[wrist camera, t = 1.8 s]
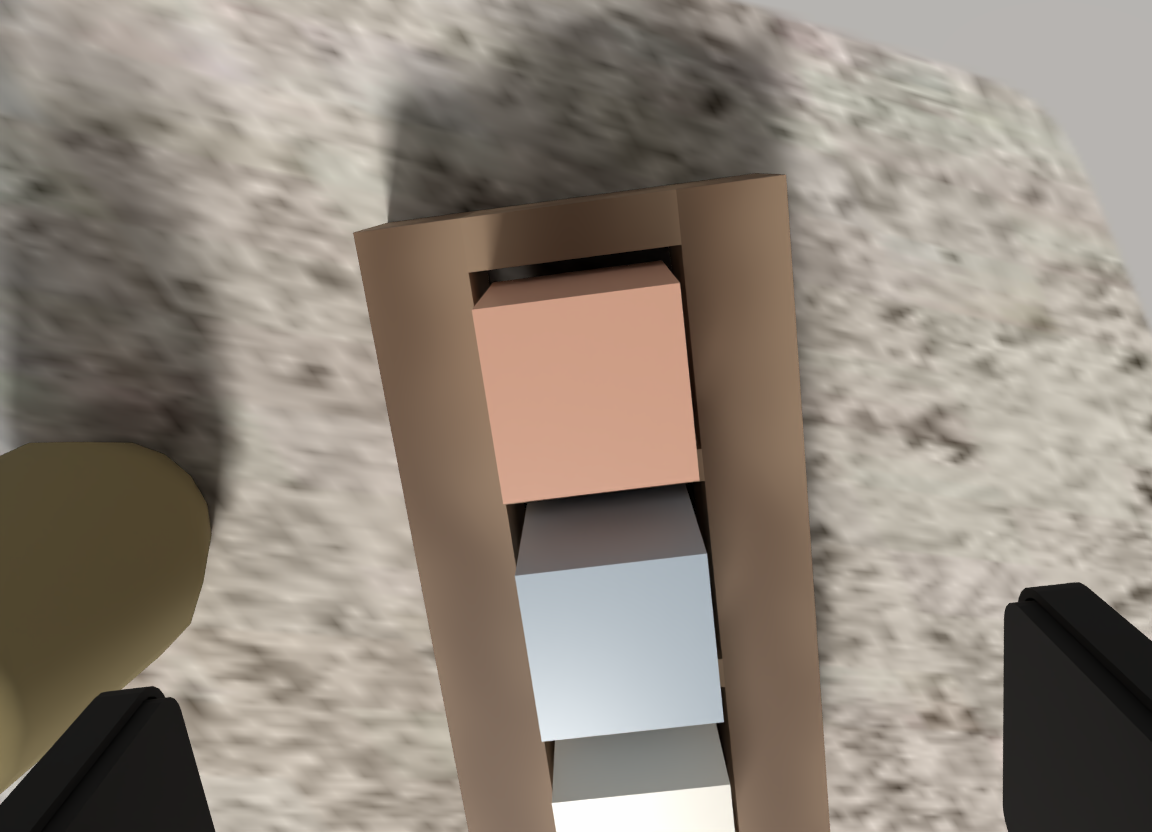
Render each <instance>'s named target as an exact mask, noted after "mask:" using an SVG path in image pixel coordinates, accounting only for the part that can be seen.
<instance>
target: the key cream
mask: <svg viewBox="0 0 1152 832" xmlns="http://www.w3.org/2000/svg"><path fill="white" fill-rule="evenodd" d="M552 808H553V814H554V820H555V826H556V832H735V828H734V818H733V808H732V798H731V788H730V782H729V777H728V773H727V769H726V765H725V760H724V756H723V752H722V748H721V743H720V739H719V735H718V731H717V726H716V723H711V724H702V725H692V726H683V727H674V728H665V729H655V730H646V731H637V732H627V733H618V734H609V735H600V736H590V737H581V738H572V739H563V740H555V751H554V770H553V789H552Z"/></svg>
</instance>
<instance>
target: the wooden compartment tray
mask: <svg viewBox="0 0 1152 832" xmlns="http://www.w3.org/2000/svg"><path fill="white" fill-rule="evenodd" d="M353 234H354V239H355V244H356V250H357V255H358V260H359V265H360V270H361V276H362V281H363V286H364V291H365V296H366V302H367V307H368V312H369V317H370V322H371V327H372V333H373V338H374V343H375V348H376V353H377V359H378V364H379V369H380V374H381V379H382V384H383V390H384V395H385V400H386V405H387V410H388V416H389V421H390V426H391V431H392V436H393V442H394V447H395V452H396V457H397V462H398V467H399V473H400V478H401V483H402V488H403V493H404V499H405V504H406V509H407V514H408V519H409V525H410V530H411V535H412V540H413V545H414V550H415V556H416V561H417V566H418V571H419V576H420V582H421V587H422V592H423V597H424V602H425V608H426V613H427V618H428V623H429V628H430V633H431V639H432V644H433V649H434V654H435V659H436V665H437V670H438V675H439V680H440V685H441V691H442V696H443V701H444V706H445V711H446V716H447V722H448V727H449V732H450V737H451V742H452V748H453V753H454V758H455V763H456V768H457V773H458V779H459V784H460V789H461V794H462V799H463V805H464V810H465V815H466V820H467V825H468V831H469V832H556V826H555V820H554V814H553V808H552V789H553V770H554V751H555V740H553V741H544V742H542V740H541V734H540V728H539V722H538V715H537V709H536V703H535V697H534V691H533V685H532V678H531V672H530V666H529V660H528V654H527V648H526V641H525V635H524V629H523V623H522V617H521V611H520V605H519V598H518V592H517V586H516V580H515V572H516V566H517V560H518V555H519V549H520V543H521V537H522V531H523V525H524V520H525V507H524V502H518V503H509V504H503V500H502V494H501V487H500V481H499V475H498V469H497V463H496V457H495V450H494V444H493V438H492V432H491V426H490V420H489V414H488V407H487V401H486V395H485V389H484V383H483V377H482V370H481V364H480V358H479V352H478V346H477V340H476V333H475V327H474V321H473V315H472V309H473V308H474V306H475V305H476V304H477V302H478V301H479V300H480V299H481V297H482V296H483V295H484V294H485V292H486V291H487V290H488V288H489V287H490V283H489V276H488V270H492V269H500V268H507V267H515V266H523V265H530V264H538V263H546V262H553V261H561V260H568V259H576V258H584V257H591V256H599V255H606V254H614V253H622V252H629V251H637V250H645V249H652V248H660V247H667V246H669V254H670V264H671V272H672V274H673V275H674V276H675V277H676V279H677V280H678V281H679V282H680V289H681V299H682V309H683V319H684V329H685V339H686V349H687V359H688V369H689V379H690V389H691V399H692V409H693V419H694V429H695V439H696V449H697V459H698V469H699V479H700V481H693V488H694V498H695V508H696V518H697V523H698V526H699V530H700V533H701V536H702V539H703V542H704V546H705V549H706V552H707V558H708V568H709V578H710V588H711V598H712V608H713V618H714V628H715V638H716V648H717V658H718V668H719V678H720V688H721V698H722V708H723V718H724V722H720V723H718V733H719V739H720V743H721V748H722V752H723V756H724V760H725V765H726V769H727V773H728V777H729V782H730V788H731V798H732V808H733V818H734V828H735V832H830V823H829V808H828V793H827V778H826V764H825V749H824V734H823V719H822V704H821V689H820V674H819V659H818V644H817V629H816V614H815V600H814V585H813V570H812V555H811V540H810V525H809V510H808V495H807V480H806V465H805V450H804V435H803V421H802V406H801V391H800V376H799V361H798V346H797V331H796V316H795V301H794V286H793V271H792V257H791V242H790V227H789V212H788V197H787V182H786V175H781V174H760V173H755V174H747V175H740V176H732V177H725V178H717V179H710V180H702V181H695V182H688V183H680V184H673V185H665V186H658V187H650V188H643V189H635V190H628V191H621V192H613V193H606V194H598V195H591V196H583V197H576V198H568V199H561V200H554V201H546V202H539V203H531V204H524V205H516V206H509V207H501V208H494V209H487V210H479V211H472V212H464V213H457V214H449V215H442V216H434V217H427V218H420V219H412V220H405V221H397V222H390V223H385V224H382V225H378V226H375V227H371V228H368V229H364V230H361V231H357V232H354V233H353ZM685 483H691V482H685ZM676 484H682V483H676ZM668 485H674V484H668ZM660 486H666V485H660ZM651 487H657V486H651ZM643 488H649V487H643ZM635 489H641V488H635ZM626 490H632V489H626ZM618 491H624V490H618ZM609 492H616V491H609ZM601 493H607V492H601ZM593 494H599V493H593ZM584 495H591V494H584ZM576 496H582V495H576ZM568 497H574V496H568ZM559 498H566V497H559ZM551 499H557V498H551ZM543 500H549V499H543ZM534 501H540V500H534ZM526 502H532V501H526Z"/></svg>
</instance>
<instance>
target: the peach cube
mask: <svg viewBox="0 0 1152 832" xmlns="http://www.w3.org/2000/svg"><path fill="white" fill-rule="evenodd" d="M472 315H473V321H474V327H475V333H476V340H477V346H478V352H479V358H480V364H481V370H482V377H483V383H484V389H485V395H486V401H487V407H488V414H489V420H490V426H491V432H492V438H493V444H494V450H495V457H496V463H497V469H498V475H499V481H500V487H501V494H502V500H503V504H509V503H518V502H526V501H534V500H543V499H551V498H559V497H568V496H576V495H584V494H593V493H601V492H609V491H618V490H626V489H635V488H643V487H651V486H660V485H668V484H676V483H685V482H693V481H700V479H699V469H698V459H697V449H696V439H695V429H694V419H693V409H692V399H691V389H690V379H689V369H688V359H687V349H686V339H685V329H684V319H683V309H682V299H681V289H680V282H679V281H678V280H677V279H676V277H675V276H674V275H673V274H672V272H671V271H670V270H669V269H668V267H667V266H666V265H665V264H664V263H663V261H662V260H660V261H652V262H645V263H637V264H629V265H622V266H614V267H606V268H599V269H591V270H583V271H576V272H568V273H561V274H553V275H545V276H538V277H530V278H522V279H515V280H507V281H499V282H493V283H492V285H491V286H490V287H489V288H488V290H487V291H486V292H485V294H484V295H483V296H482V297H481V299H480V300H479V301H478V302H477V304H476V305H475V306H474V308H473V309H472Z"/></svg>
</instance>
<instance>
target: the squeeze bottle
mask: <svg viewBox="0 0 1152 832" xmlns="http://www.w3.org/2000/svg"><path fill="white" fill-rule="evenodd" d="M210 540H211V528H210V520H209V513H208V506H207V503H206V501H205V499H204V498H203V496H202V494H201V493H200V491H199V489H198V487H197V486H196V484H195V482H194V481H193V479H192V477H191V476H190V475H189V474H188V473H187V472H185V471H184V470H183V469H182V468H181V467H179V466H178V465H177V464H176V463H174V462H173V461H172V460H171V459H170V458H168V457H167V456H166V455H165V454H162V453H160V452H157V451H154V450H151V449H148V448H146V447H143V446H140V445H137V444H135V443H120V442H48V443H28V444H25V445H23V446H21V447H19V448H17V449H14V450H12V451H10V452H8V453H5V454H3V455H1V456H0V794H1V793H2V792H3V791H4V790H6V789H7V788H8V787H9V786H10V785H11V784H13V783H14V782H15V781H16V780H17V779H18V778H19V777H21V776H22V775H23V774H24V773H25V772H26V771H28V770H29V769H30V768H31V767H32V766H33V765H34V764H36V763H37V762H38V761H39V760H40V759H41V758H42V757H43V756H44V755H45V754H46V752H47V751H48V750H49V749H50V748H51V747H52V746H53V745H54V743H55V742H56V741H57V740H58V739H59V738H60V737H61V736H62V734H63V733H64V732H65V731H66V730H67V729H68V728H69V726H70V725H71V724H72V723H73V722H74V721H75V720H76V719H77V717H78V716H79V715H80V714H81V713H82V712H83V711H84V709H85V708H86V707H87V706H88V705H89V704H90V703H91V702H92V700H93V699H94V698H95V697H96V696H98V695H99V694H100V693H102V692H107V691H115V690H121V689H122V688H123V687H125V686H126V685H127V684H128V683H129V682H130V681H132V680H133V679H134V678H135V677H136V676H137V675H138V674H140V673H141V672H142V671H143V670H144V669H145V668H147V667H148V666H149V665H150V664H151V663H152V662H153V661H155V660H156V659H157V658H158V657H159V656H160V655H162V653H163V652H164V651H165V650H166V649H167V648H168V647H169V646H170V645H171V644H172V643H173V642H174V641H175V640H176V639H177V637H178V636H179V635H180V634H181V633H182V632H183V631H184V630H185V629H186V628H187V627H188V626H189V625H190V624H191V621H192V617H193V614H194V611H195V607H196V604H197V601H198V598H199V594H200V591H201V588H202V584H203V580H204V575H205V569H206V563H207V557H208V551H209V546H210Z"/></svg>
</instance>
